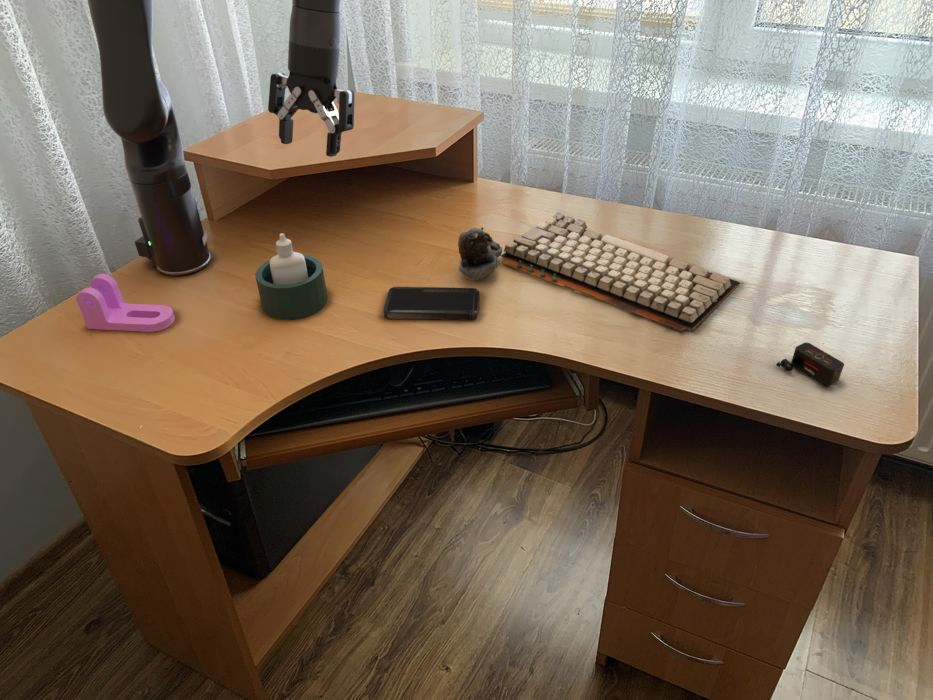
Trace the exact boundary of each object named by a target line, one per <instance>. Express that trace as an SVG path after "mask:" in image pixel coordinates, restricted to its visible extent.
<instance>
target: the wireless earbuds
mask: <svg viewBox="0 0 933 700" xmlns="http://www.w3.org/2000/svg"><path fill="white" fill-rule="evenodd" d="M775 365H776V366H777V367H778V368H782V369H784V371H786V372H792V371H793V370H794V369H795V370H796V371H799V372H800V373H802V374H803V375H805V376H806V377H809V378H810V379H812V380H813V381H815V382H816V383H818V384H820V385H821V386H823V387H824V388H829V387H831V386H833V385H834V384H837V383H838V382H839V381H840V379H841V378H840V377H841V376H842V373H843V370H844V367H845V363H844V362H843V361H841V360H840V359H838V358H836V357H834V356H832V355H831V354H829V353H827V352H825V351H824V350H822V349H821V348H820V347H819V348H818V347H817V346H815V345H813V344H812V343H810V342H803V343H801V344H799V345H796V346H795V349H794V352H793V355H792V358H791V361H789V360H788V359H787V358H783V359H782V360H781V361H778V362H777V363H776V364H775Z"/></svg>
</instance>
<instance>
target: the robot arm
mask: <svg viewBox="0 0 933 700" xmlns="http://www.w3.org/2000/svg"><path fill="white" fill-rule="evenodd" d="M87 5H88V10H89V13H90V18H91V22H92V27H93V30H94V34H95V38H96V42H97V43H96V44H97V47H98V48H97V49H98V53H99V54H98V55H99V62H100V63H99V65H100V79H101V93H102V95H101V96H102V97H101V98H102V112H103V115H104V118H105V120H106V123H107V125H108V126H109V127H110V129H111V130H112V132H114V133H115V134H116V135H117V136H118V137H119V138H120V139H121V144H122V150H123V156H124V166H125V167H124V168H125V170H126V174H127V177H128V179H129V182H130V186H131V188H132V192H133V195H134V197H135V200H136V204H137V207H138V210H139V213H140V217H138V224H139V225H138V226H139V228H140V230H141V233H142V236H141V237H139V238H138V239H136V240H134V245H135V248H136V251H137V254H138V256H139V257H142V258H147V260H149V261H151V264H152V267H153V268H156V269H157V271H158V272H159V273H161V274H163V275H166V276H171V277H172V276H173V277H175V276H187V275H190V274H193V273H197V272H199V271H201V270H203V269H204V268H205V267H207V266H208V265H209V264H210V263H211V261H212V255H211V252H210V250H209V246H208V243H207V239H208V234H207V230H204V228H203V224H202V220H201V216H200V213H199V208H198V205H197V202H196V197H195V194H194V190H193V187H192V183H191V178H190V176H189V175H190V174H189V172H188V169H187V164H186V160H185V155H184V147H183V146H184V145H183V142H182V138H181V134H180V130H179V125H178V122H177V118H176V113H175V109H174V105H173V102H172V99H171V96H170V92H169V91H168V89H167V87H166V86H165V84H164V83H163V82H162V80H160V79H159V78H158V76H157V71H156V66H155V65H156V64H155V59H154V52H153V28H154V27H153V25H154V0H87ZM341 10H342V0H291V11H290V17H289V28H288V52H287V53H288V54H287V70H288V71H289V74H288V76H287V75H286V74H285V73H284V72H277V73H272V74H271V75H270V80H269V90H268V91H269V92H268V103H267V104H268V106H267V110H268V112H269V113H271V114H274V115H275V116H276V117H277V118H278V122H279V123H278V125H279V127H278V137H279V140H280V143H281V144H283V145H289V144H292V143H293V140H294V139H293V137H294V119H292V118H293V117H294V115H295V114H296V112H297V111H298V110H301V111H309V112H310V113H313V114H318V116H319V118H320V119H321V120H322V121H323V123H324V125H325V126H326V128H327V130H328V132H327V134H326V135H327V136H326V149H325V156H327V157H331V158H332V157H335V156H337V155H338V153H340V152H341V145H342V144H341V143H342V133H344V132H348V131H352V130H353V129H354V128H355V127H354V126H355V97H356V95H355V91H354V90H353V89H347V90H344V89H339V88H338V86H337V79H338V77H339V66H340V65H339V64H340V51H341V50H340V49H341V37H342V20H341V19H342V17H341V15H342V14H341V12H342V11H341ZM286 89H288V91H289V93H290V94H289V96H288V97H287V98H286V99H285V97H286ZM335 100H336V103H337V104H338V109H337V106H336V105H335V102H334V101H335Z"/></svg>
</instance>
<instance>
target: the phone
mask: <svg viewBox="0 0 933 700" xmlns="http://www.w3.org/2000/svg"><path fill="white" fill-rule="evenodd" d="M479 305H480V290H479V288H477V287H444V286H443V287H441V286H439V287H437V286H392V287H390V288H389V289H388V292H387V296H386V299H385V302H384V306H383V316H384V317H385V318H387V319H394V320H395V319H398V320H400V319H402V320H403V319H404V320H449V321H472V320H475V319H477V318H478V312H479Z"/></svg>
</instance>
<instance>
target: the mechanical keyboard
mask: <svg viewBox="0 0 933 700" xmlns="http://www.w3.org/2000/svg"><path fill="white" fill-rule="evenodd" d="M503 252H504V253H502V254H501V256H500V258H503V260H502V261H501V263H502V264H503V265H506V266H509V267H512V268H514V269H517V270H519V271H521V272H523V273H526V274H529V275H531V276H534V277H536V278H539V279H542V280H545V281H547V282H549V283H552V284H554V285H558V286H560V287H562V288H566V287H567V288H570V289H573V290H574V293H577V294H580V295H584V296H587V297H589V298H592V299H594V300H600V301H602V302H604V303H605V302H606V303H608V304H611V305H613V306H615V307H617V308H620V309H622V310H625V311H627V312H629V313H631V314H633V315H635V316H638V317H642V318H645V319H647V320H650V321H652V322H655V323H658V324H660V325H662V326H663V325H664V326H665V327H668V328H670V329H673V330H676V331H679V332H683V331H685V330H690V331H695V330H696V329H697V328H698V327H699V326H700V325H701V324H702V323H704V322H705V320H706V319H707V318H708V317H709V316H710V315H711V314H712V313H713V312H714V311H715V310H716V309H718V307H719V306H720V305H721V304H722V303H723V302H724V301H725V300H726V299H727V298H728V297H729V296H730V295H731V294H732V293H733V292H734V291H735V290H736V289H737V288H738V287H739V285H740V284H741V282H740V281H737V280H734V279H732V278H731V277H730V276H726V275H724V274H720V273H718V272H713V273H712V272H710V270H709V269H706V268H703V267H700V266H698V265H692V266H690V265H689V263H688V262H685V261H683V260H680V259H678V258H672V259H670V257H669V256H668V255H667V254H664V253H661V252H658V251H656V250H652V249H651V248H648V247H647V248H646V247H643V246H641V245H638V244H635V243H633V242H629V241H626V240H624V239H621V238H618V237H614V236H612V235H610V234H609V235H608V234H605V235H602V233H601V232H599V231H595V230H593V229H590V228H588V226H587V223H586V221H585V220H583V219H580V218H578V219H575V217H574V216H571V215H566V216H565V214H564V213H561V212H560V211H557V212H556V213H555V214H554V215H553V216H549V217H547V218H546V219H545V220H544V221H540V222H539V223H538V224H537V226H534V227H532V228H530V229H529V230H527V231H526V232H524V233H523V234H521V236H520V235H518V236H516V237H514V238H513V240H512V241H508V242H506V243H505V246H504V249H503Z"/></svg>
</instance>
